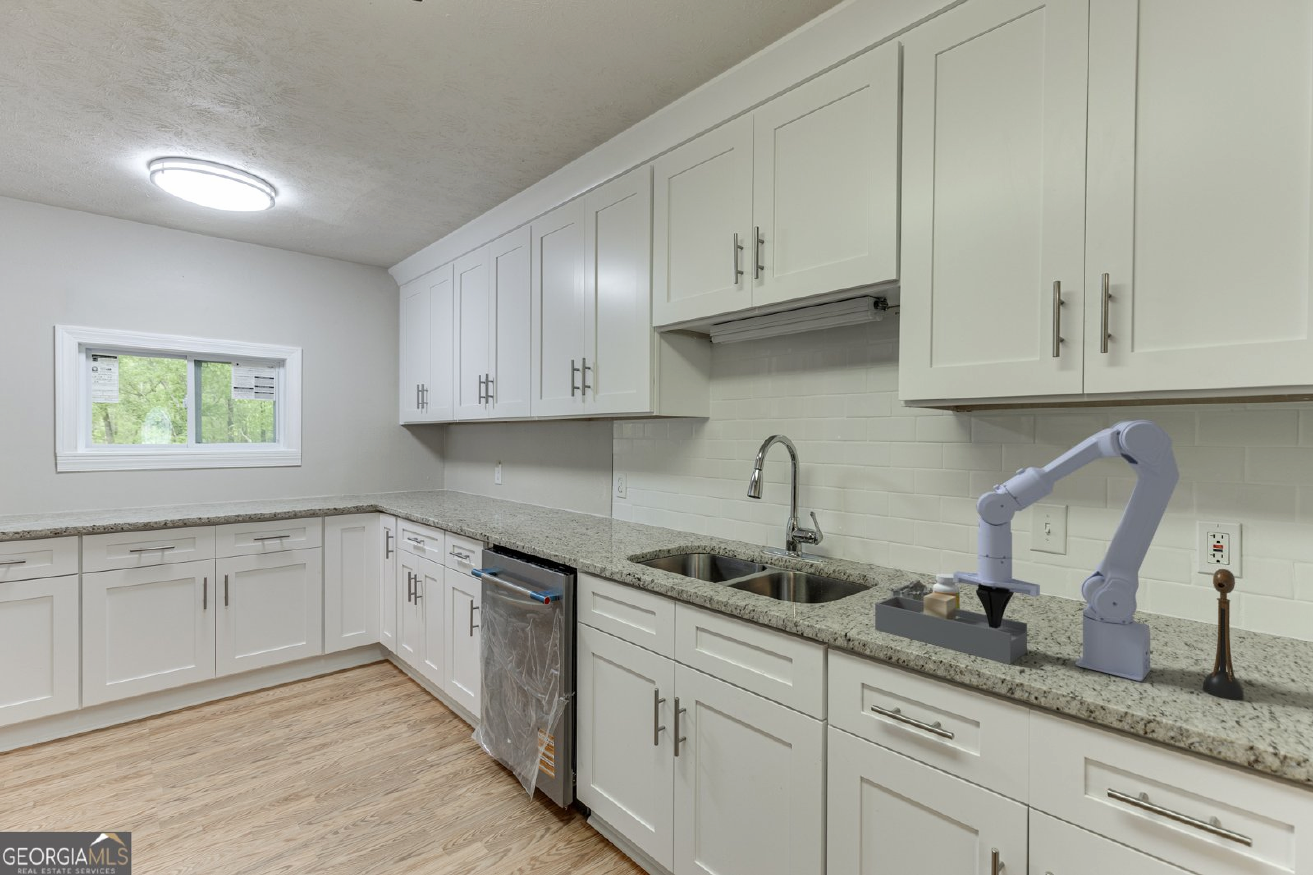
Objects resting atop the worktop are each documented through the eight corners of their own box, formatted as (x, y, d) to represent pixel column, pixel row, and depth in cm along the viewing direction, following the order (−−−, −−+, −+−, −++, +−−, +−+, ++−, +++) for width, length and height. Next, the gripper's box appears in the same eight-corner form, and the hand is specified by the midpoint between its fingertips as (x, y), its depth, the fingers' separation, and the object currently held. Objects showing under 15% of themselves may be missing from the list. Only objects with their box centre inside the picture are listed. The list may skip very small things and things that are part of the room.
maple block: (955, 618, 122) (955, 596, 122) (946, 623, 119) (946, 601, 119) (933, 613, 126) (933, 592, 126) (923, 618, 123) (923, 596, 123)
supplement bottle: (962, 623, 132) (962, 578, 132) (936, 621, 133) (936, 577, 133) (955, 615, 137) (955, 573, 137) (930, 614, 138) (930, 572, 138)
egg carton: (920, 595, 155) (920, 579, 155) (941, 603, 148) (941, 586, 148) (885, 598, 153) (885, 582, 153) (904, 606, 145) (904, 589, 145)
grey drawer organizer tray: (1027, 652, 115) (1027, 623, 115) (1010, 664, 109) (1010, 634, 109) (895, 620, 134) (895, 595, 134) (875, 629, 128) (875, 603, 128)
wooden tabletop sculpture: (1240, 704, 93) (1240, 574, 92) (1199, 694, 96) (1200, 569, 96) (1245, 693, 96) (1245, 569, 96) (1206, 684, 100) (1206, 564, 100)
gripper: (946, 552, 117) (946, 622, 118) (1030, 564, 107) (1030, 641, 107) (961, 547, 122) (961, 614, 122) (1043, 559, 111) (1043, 632, 111)
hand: (994, 626), depth 115 cm, fingers closed
